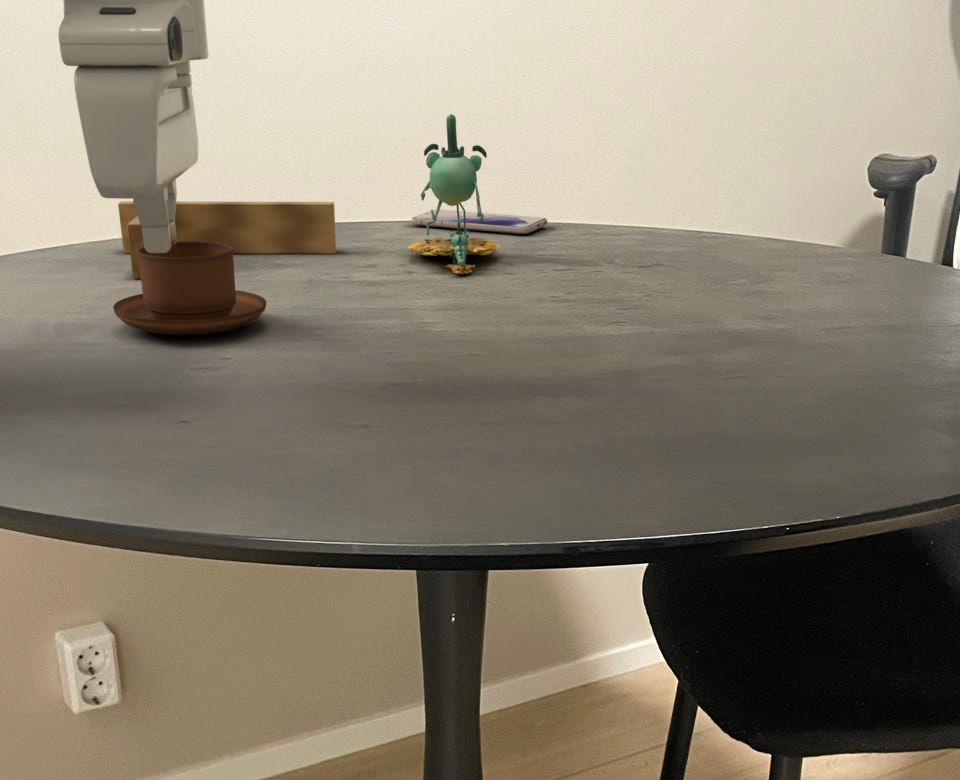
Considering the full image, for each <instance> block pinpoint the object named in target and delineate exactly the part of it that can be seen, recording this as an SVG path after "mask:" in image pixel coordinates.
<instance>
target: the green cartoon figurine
mask: <svg viewBox="0 0 960 780" xmlns="http://www.w3.org/2000/svg"><path fill="white" fill-rule="evenodd" d="M457 134H458V133H457V118H456V116H455V115H454V114H452V113H450V114H449V115H447V116H446V138H447V139H446V140H447V142H446V143H447V149H446V147H445V146H442V147H441V150H440V149H439V147H440V146H439V145H438V144H437V143H430V144H428V145H427V147H426V148H425V149H424V151H423V156H424V157H425V156H427V157H426V160H425V165H426V166H427V168H428V169H430V171H429V180H428V182H427V184H426V185H425V187H424V188H423V190H422V192H421V193H420V198H421V201H422V202H423V201H424V200H425V198H426V191H427V192H428V190H429V189H431V192H432V194H433V196H435V198H436V199H437V200H438V202H437V207H436V209H435V210H436V214H435V215H434V212H433V210H434V209H431V210H430V211H431V214H432V219H433V220H434V221H432V222H429V223H427V226H426V236H427V237H430V226H429V225H430V224H433V223H435V221H436V218H437V215H438V212H439V210H441V206H442V205H443V203H444V204H446V205H448V206H450V207H455V206H456V211H457V217H458V221H457V228H456V230H454V229H451V230H450V231H449V236H450V238H443V237H435V238H432V239H430V238H425V239H423V241H418V240H417V241H413V242H411V244H410V245H408V248H407V249H408V250H409V251H410V253H412V254H414V255H416V256H417V255H418V256H421V255H422V256H432V257H437V256H444V257H447V256H450V258H452V257H453V259H452V263H449V264H447V265H446V264H445V265H444V267H445V268H448V269H451V272H452V273H454V274H456V275H464V274H471V273H472V272H473V270H472V269H473V268H475V267H476V264H473V265H471V264H468V263H466V261H468V258H467V256H468V255H473V256H486V255H490V254H494V253H495V252H496V251H498V249H499V248H500V247H501V244H499V243H496V240H494V239H485V238H483V237H470V235H471V234H472V232H471V230H470V229H466V227H465V212H466V209H465V207H464V206H463V204H462V203H463V202H467V201H468V200H470V199H471V198H472V196H473V194H474V193H475V199H476V210H477V211H476V213H477V217H480V216H481V219H480V221H483V218H484V215H483V214H482V213H483V212H482V205H481V200H480V197H481V196H480V193H479V188H478V176H477V172H478V171H480V170H481V167H482V162H483V161H482V160H483V159H482V157H481V156H479V155H477V154H475V155H471V156H470V157H467V156H466V155H465V147H464V145H461V146H460V147H458V139H457V138H458V137H457V136H458V135H457ZM433 150H435V151H433ZM438 150H440V152H441V154H440V153H438V152H436V151H438ZM431 151H432V152H431ZM471 151H472V152H479V153H480V154H481V155H482V156H483V157H484V158H485V159H487V157H488V156H487V155H488V153H487V151H486V150H485V149H484V148H483V146H481V145H479V144H475V145H473V146H471ZM460 208H461V210H462V211H464V229H463V230H462V229H461V227H460V219H459V211H460ZM455 259H456V260H455ZM456 261H457V263H456Z"/></svg>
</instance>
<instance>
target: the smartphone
mask: <svg viewBox="0 0 960 780" xmlns="http://www.w3.org/2000/svg"><path fill="white" fill-rule="evenodd" d="M432 210H433V212H434V215H435V214H436V210H437V209H432ZM482 214H483V215H484V218H483V221H480V219H481V216H480V217H477V211H476V212H475V211H465V227H466V230H469V231H480V232H481V231H484V232H492V233H493V232H495V233H496V232H497V233H507V234H518V235H526V234H529V233H531V232H534V231H536V230H538V229H541V228H543V227H545V226H547V225H548V219H547V218H546V217H539V216H526V215H525V216H524V215H515V214H501V213H489V212H488V213H487V212H482ZM459 219H460V227H461V230H464V211H463V210H459ZM432 221H434V220H433V219H432V214H431V210H430V211H427V212H425V213H421V214H419V215H416V216H413V217H412V218H411V224H412V225H414V226H423V227H427V223H429V222H432ZM457 221H458V217H457V210H449V209H440V210H439V212H438V215H437V218H436V221H435V223H433V224H430V225H429V227H434V228H436V227H437V228H446V229H457Z"/></svg>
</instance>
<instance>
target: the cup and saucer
mask: <svg viewBox="0 0 960 780" xmlns="http://www.w3.org/2000/svg"><path fill="white" fill-rule="evenodd" d="M138 260H139V268H140V275H141V279H140V283H141V290H142V293H139V294H135V295H130V296H126V297H124V298H122V299H120V300H118V301H116V302H115V303H114V304H113V305H112V309H113V312H114V315H115V316H116V318H118V319H119V320H120V321H122V323H124V324H125V325H127V326H129V327H131V328H133V329H136V330H140V331H143V332H149V333H153V334H161V335H172V336H173V335H174V336H175V335H176V336H195V335H197V336H198V335H207V334H215V333H216V334H217V333H222V332H227V331H232V330H235V329H238V328H242V327H244V326H247V325H249V324H251V323H253V322H254V321H256V320H257V319H259V318H260V317H261V315H262V314H263V313H264V312H265V311H266V307H267V300H266V298H264V297H263V296H261V295H259V294H256V293H252V292H248V291H243V290H237V289H236V279H235V277H236V276H235V263H234V262H235V261H234V254H233V248H232V247H231V246H230V245H227V244H223V243H217V242H206V241H178V242H176V244H175V245H174V246H173V247H172V248H171V249H170V250H169V251H168V252H166V253H149V252H147V251H146V250H145V248H144V247H141V248H139V249H138Z"/></svg>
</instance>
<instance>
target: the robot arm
mask: <svg viewBox="0 0 960 780" xmlns="http://www.w3.org/2000/svg"><path fill="white" fill-rule="evenodd" d="M206 20H207V19H206V9H205V0H63V18H62V20H61V23H60V25H59V28H58V35H57V36H58V43H59V51H60V57H61V61H62V63H63V64H64V65H65V66H67V67H76V68H75V70H74V74H73V75H74V76H73V80H74V81H73V82H74V92H75V99H76V104H77V109H78V115H79V121H80V126H81V131H82V135H83V141H84V146H85V152H86V156H87V160H88V166H89V169H90V173H91V177H92V179H93V182H94V185H95V188H96V189H97V191H98V193H99V195H100V197H102V198H104V199H125V200H127V199H128V200H129V199H132V201H133V202H134V206H135V209H136V212H137V215H138V218H139V221H140V224H141V226H142V233H143V242H144V248H145V250H146V251H147V252H149V253H166V252H168V251H169V250H170V249H171V248H172V247H173V246H174V245H175V244H176V241H177V236H176V225H175V214H176V202H177V197H178V189H177V179H178V178H179V177H180V176H182V175H183V174H184V173H186V172H187V171H188V170H189V169H191V168H192V167H193V166H195V165H196V164H197V163H198V160H199V138H198V128H197V119H196V112H195V103H194V96H193V88H192V85H193V80H192V74H190V73H192V70H191V61H200V60H206V59H208V58H209V55H210V54H209V48H208V47H209V46H208V35H207V22H206Z"/></svg>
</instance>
